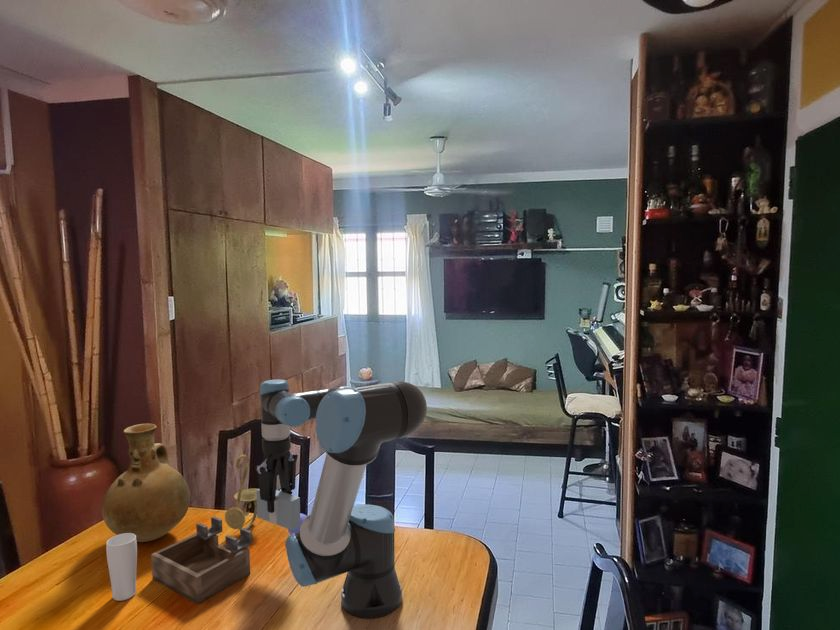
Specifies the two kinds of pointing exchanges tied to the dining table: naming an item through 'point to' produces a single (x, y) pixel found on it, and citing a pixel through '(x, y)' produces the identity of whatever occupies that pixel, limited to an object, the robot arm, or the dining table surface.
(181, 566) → the box
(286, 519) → the door
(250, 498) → the wall sconce
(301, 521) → the sphere
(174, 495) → the vase
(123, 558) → the drinking glass
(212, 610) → the dining table surface
